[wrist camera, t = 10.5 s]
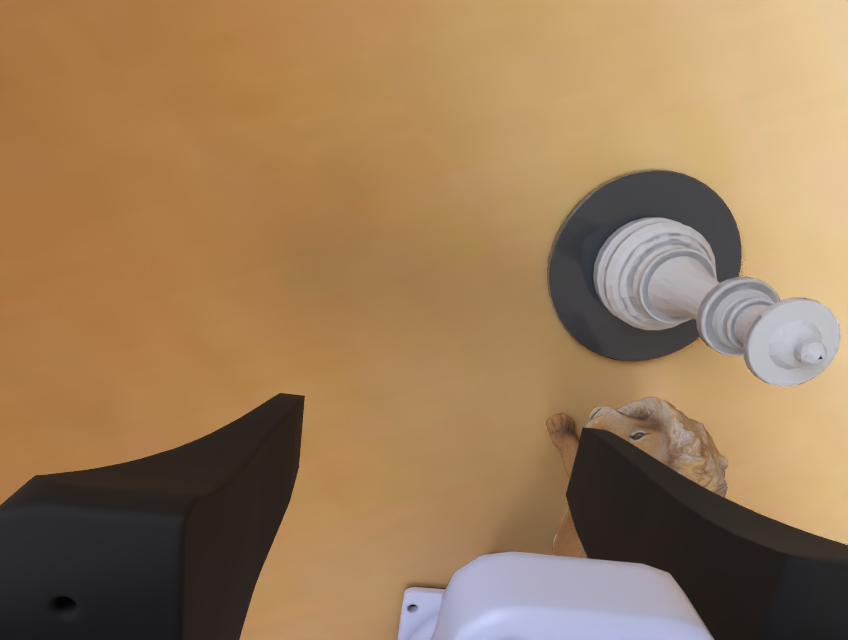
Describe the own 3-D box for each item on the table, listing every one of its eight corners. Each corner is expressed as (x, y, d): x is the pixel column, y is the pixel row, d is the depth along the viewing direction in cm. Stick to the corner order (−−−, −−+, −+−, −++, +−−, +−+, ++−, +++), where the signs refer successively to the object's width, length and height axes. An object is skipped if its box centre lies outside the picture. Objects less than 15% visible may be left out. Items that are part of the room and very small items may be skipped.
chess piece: (716, 279, 23) (941, 373, 13) (626, 340, 23) (777, 471, 14) (664, 193, 21) (869, 226, 12) (571, 260, 22) (694, 341, 13)
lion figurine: (545, 329, 24) (626, 431, 15) (660, 352, 24) (802, 463, 15) (467, 597, 28) (495, 797, 19) (566, 612, 28) (637, 812, 20)
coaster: (706, 367, 24) (711, 370, 24) (531, 347, 24) (533, 350, 23) (760, 183, 22) (767, 184, 22) (568, 157, 21) (571, 157, 21)
